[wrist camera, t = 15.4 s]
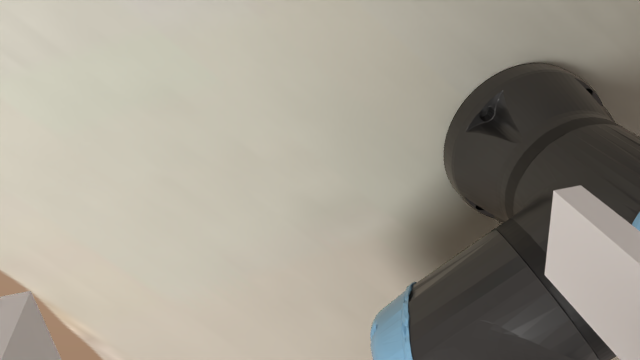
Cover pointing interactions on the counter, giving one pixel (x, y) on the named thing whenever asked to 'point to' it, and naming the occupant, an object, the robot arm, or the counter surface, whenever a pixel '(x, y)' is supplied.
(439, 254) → the counter surface
